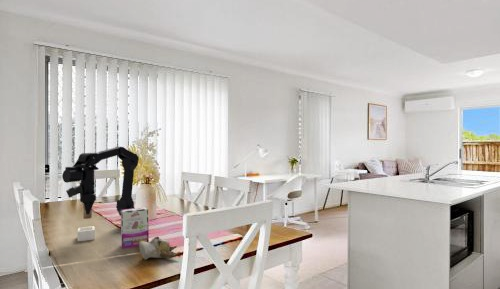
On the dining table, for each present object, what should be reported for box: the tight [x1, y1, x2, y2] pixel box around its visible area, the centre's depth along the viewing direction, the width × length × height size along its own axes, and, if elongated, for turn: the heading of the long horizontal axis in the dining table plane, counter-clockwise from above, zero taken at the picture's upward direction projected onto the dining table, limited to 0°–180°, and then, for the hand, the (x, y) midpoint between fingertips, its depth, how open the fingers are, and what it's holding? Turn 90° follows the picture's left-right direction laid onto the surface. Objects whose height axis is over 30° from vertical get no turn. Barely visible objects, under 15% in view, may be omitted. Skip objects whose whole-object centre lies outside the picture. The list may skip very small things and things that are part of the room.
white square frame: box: [77, 225, 96, 242], centre depth 145 cm, size 7×7×4 cm
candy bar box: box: [120, 206, 150, 249], centre depth 136 cm, size 11×5×16 cm, turn 117°
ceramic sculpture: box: [138, 236, 179, 260], centre depth 123 cm, size 11×9×15 cm
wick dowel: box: [82, 203, 93, 220], centre depth 144 cm, size 3×3×9 cm
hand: (87, 213), depth 145 cm, fingers closed on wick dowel, 3 cm apart
